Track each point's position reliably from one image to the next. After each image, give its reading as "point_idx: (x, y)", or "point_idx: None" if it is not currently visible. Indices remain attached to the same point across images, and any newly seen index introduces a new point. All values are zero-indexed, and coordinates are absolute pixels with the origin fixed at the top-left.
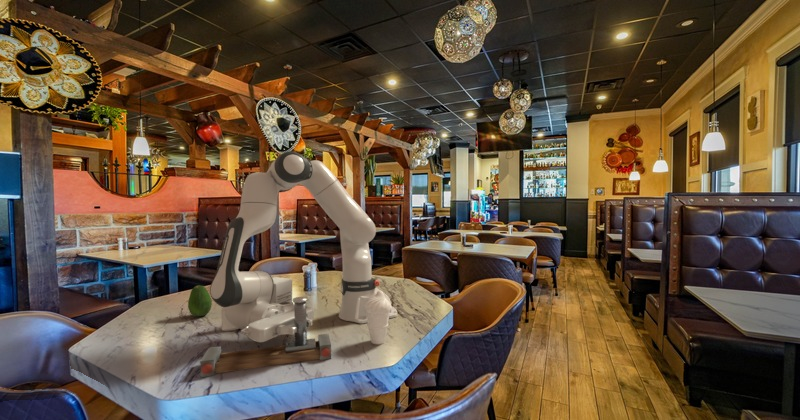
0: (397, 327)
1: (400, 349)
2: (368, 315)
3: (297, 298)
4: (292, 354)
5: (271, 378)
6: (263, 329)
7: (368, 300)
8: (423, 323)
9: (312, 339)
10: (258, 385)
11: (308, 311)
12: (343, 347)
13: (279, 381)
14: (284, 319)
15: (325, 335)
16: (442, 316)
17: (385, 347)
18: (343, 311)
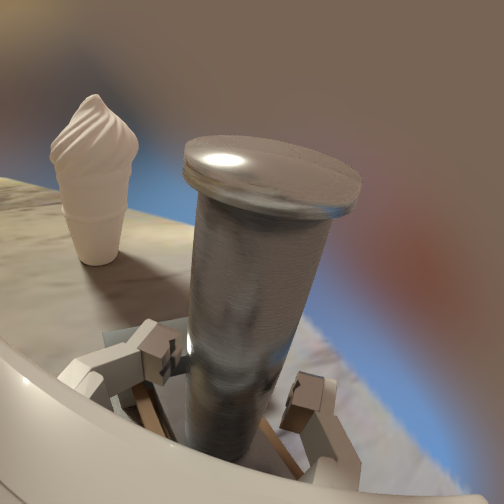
0: (23, 226)
1: (153, 225)
2: (112, 180)
3: (278, 165)
4: (287, 457)
5: (402, 471)
6: (483, 498)
7: (94, 131)
8: (27, 197)
9: (166, 390)
10: (444, 475)
11: (3, 339)
12: (122, 327)
13: (404, 437)
14: (244, 489)
15: (124, 341)
16: (12, 180)
17: (137, 244)
18: None
